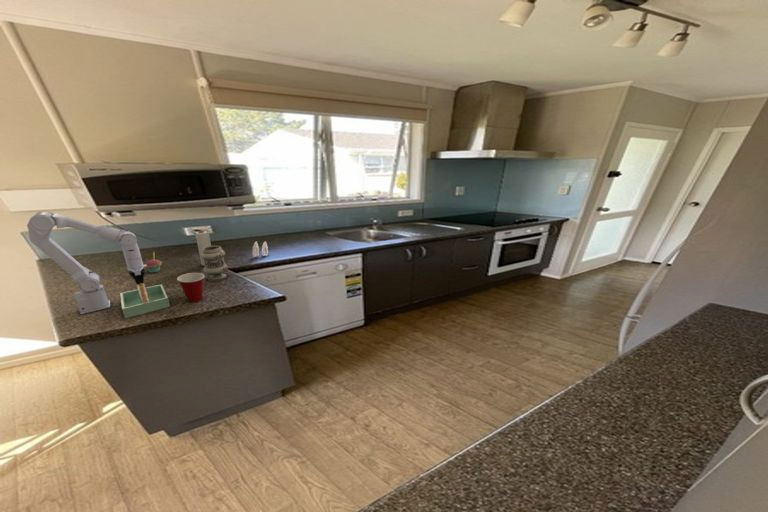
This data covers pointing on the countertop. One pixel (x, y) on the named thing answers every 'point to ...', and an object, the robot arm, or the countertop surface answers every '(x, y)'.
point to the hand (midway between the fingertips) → (140, 284)
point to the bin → (135, 307)
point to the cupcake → (153, 264)
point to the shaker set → (256, 249)
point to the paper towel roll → (202, 242)
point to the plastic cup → (192, 285)
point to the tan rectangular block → (143, 293)
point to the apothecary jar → (214, 263)
